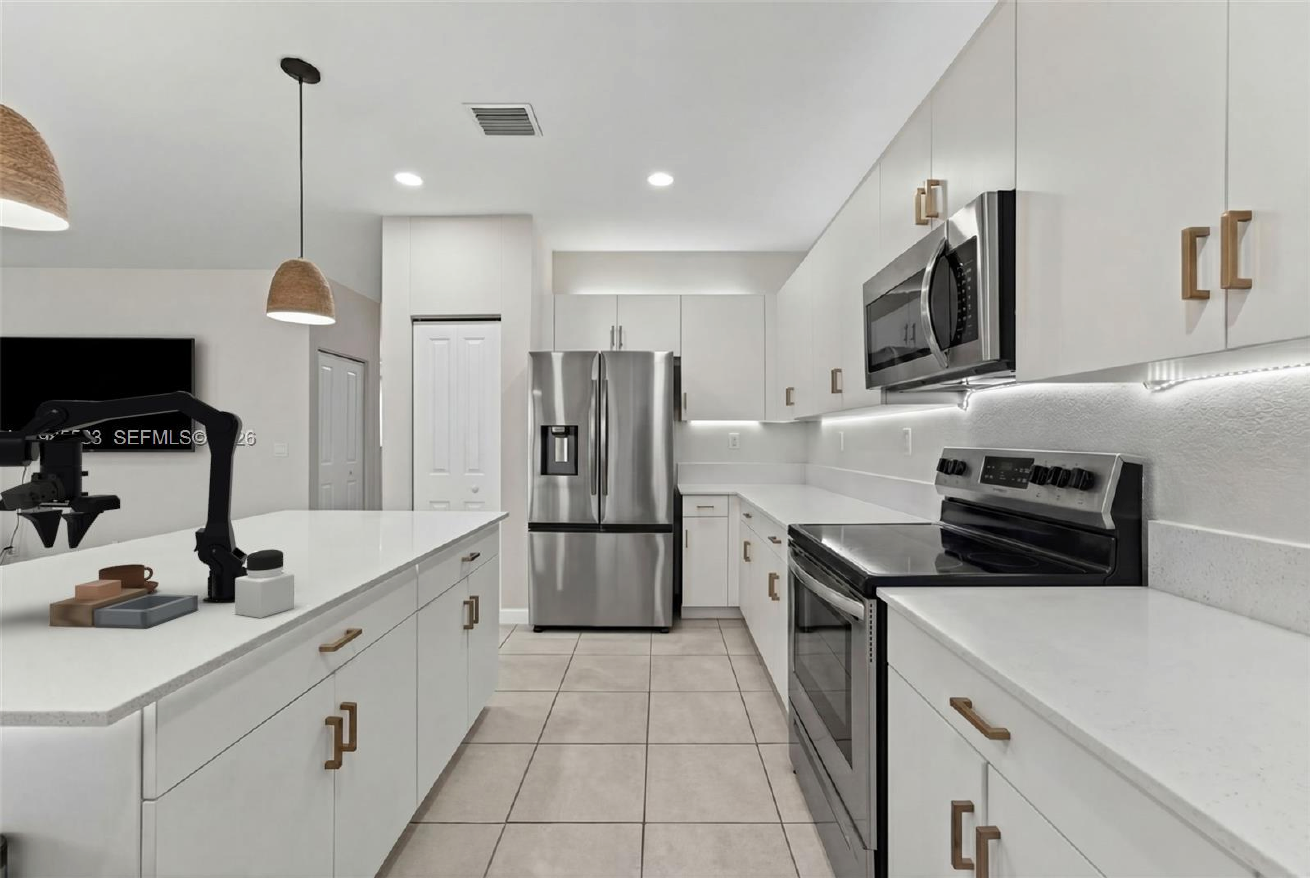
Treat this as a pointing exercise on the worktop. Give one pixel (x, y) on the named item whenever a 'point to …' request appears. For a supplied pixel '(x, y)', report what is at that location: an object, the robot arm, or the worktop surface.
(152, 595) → the box
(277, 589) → the medicine bottle
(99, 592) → the tile
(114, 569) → the cup and saucer
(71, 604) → the tan wooden board
